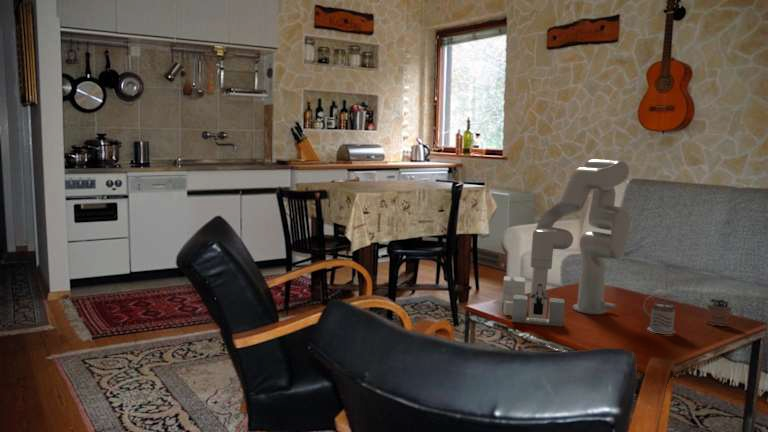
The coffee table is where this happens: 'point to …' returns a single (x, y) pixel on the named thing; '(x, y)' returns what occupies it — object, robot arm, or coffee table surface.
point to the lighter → (718, 312)
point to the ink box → (512, 287)
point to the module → (531, 307)
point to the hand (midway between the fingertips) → (537, 311)
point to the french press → (660, 325)
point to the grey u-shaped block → (520, 316)
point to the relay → (508, 307)
